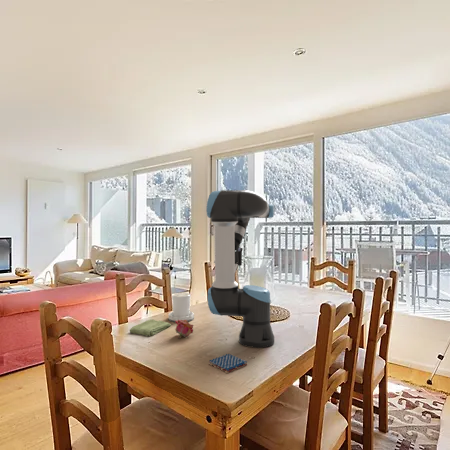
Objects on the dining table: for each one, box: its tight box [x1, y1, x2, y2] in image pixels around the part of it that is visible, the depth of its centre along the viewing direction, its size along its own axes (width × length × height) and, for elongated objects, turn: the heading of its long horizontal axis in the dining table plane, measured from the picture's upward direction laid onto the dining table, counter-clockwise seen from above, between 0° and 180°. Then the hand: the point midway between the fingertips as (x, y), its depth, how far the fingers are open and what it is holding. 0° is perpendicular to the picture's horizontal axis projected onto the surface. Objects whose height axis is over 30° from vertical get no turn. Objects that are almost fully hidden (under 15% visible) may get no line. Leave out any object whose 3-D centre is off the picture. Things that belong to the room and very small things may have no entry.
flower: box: [174, 320, 194, 339], centre depth 147 cm, size 10×9×8 cm
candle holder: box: [171, 292, 192, 317], centre depth 175 cm, size 10×10×12 cm
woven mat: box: [208, 353, 248, 374], centre depth 119 cm, size 10×11×2 cm
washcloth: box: [129, 319, 172, 337], centre depth 158 cm, size 13×18×3 cm
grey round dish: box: [168, 311, 195, 323], centre depth 176 cm, size 13×13×3 cm
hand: (224, 269), depth 175 cm, fingers open, 13 cm apart
